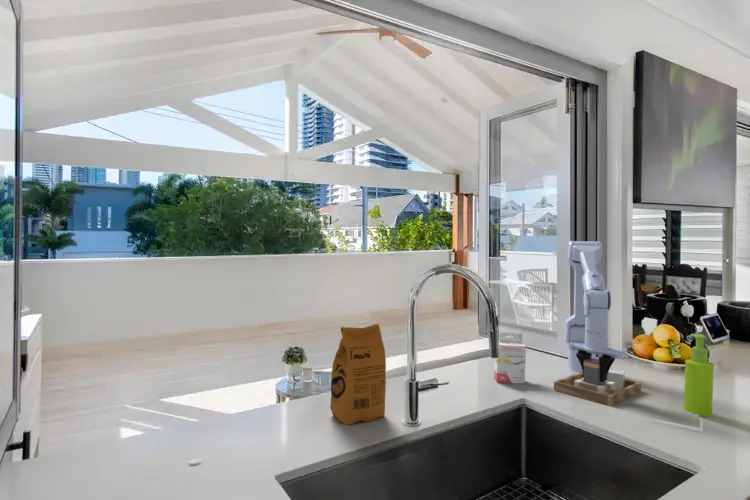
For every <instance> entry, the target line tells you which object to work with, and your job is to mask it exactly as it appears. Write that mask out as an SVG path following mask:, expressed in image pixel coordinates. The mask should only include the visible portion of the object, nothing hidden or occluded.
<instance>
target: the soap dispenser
mask: <svg viewBox="0 0 750 500" xmlns="http://www.w3.org/2000/svg"><path fill="white" fill-rule="evenodd" d="M690 336H691V337H695V346H693V347H691V355H690V356H691V358H689V359H685V361H684V363H685V366H684V367H685V368H684V395H683V397H684V398H683V400H684V401H683V409H684V411H686V412H689V413H692V414H696V415H698V416H699V417H700V418H711V417H712V416H713V395H714V392H713V391H714V363H713V362H710V361H709V360H708V359H709V358H708V356H709V355H708V353H709V350H708V348H706V347H705V340H707V336H706V335H704V334H703V333H690Z"/></svg>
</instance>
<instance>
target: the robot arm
mask: <svg viewBox="0 0 750 500" xmlns="http://www.w3.org/2000/svg"><path fill="white" fill-rule="evenodd" d="M602 257H603V245H602V242H601V241H600V240H597V241H588V240H587V241H584V240H583V241H581V240H579V241H578V240H576V241H575V240H569V242H568V244H567V264H568V265H569V266H571V267H572V269H573V272H574V276H573V277H574V282H573V284H574V285H573V289H574V290H573V314H572V315H571V316H570V317H568V318H566V319H565V321H564V328H563V340H564V341H565V343H566V344H568V349H567V351H568V353H567V354H568V355H567V356H568V357H567V358H568V359H567V367H563V368H562V369H563V370H564V371H565V370H566V371H569V372H574V373H580V372H583V375H584V360H586V359H588V358H594V359H597V356H599V357H598V359H599V363H600V382H605V381H606V378H607V374H608V371H609V369H611V367H612V366H613V363H614V362H615V360H623V359H624V357H625V352H624V351H622V350H617V349H613V348H611V347H608V322H609V321H608V317H609V312H608V311H610V309H611V305H612V296H611V291H610V289H608V288H607V287H606V286H605V285H606V284H605V279H604V276H603V274H602V273H601V272H599V271H598V264H599V262H600V261H601V259H602Z"/></svg>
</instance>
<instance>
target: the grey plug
mask: <svg viewBox="0 0 750 500" xmlns="http://www.w3.org/2000/svg"><path fill="white" fill-rule="evenodd" d="M625 373H626V372H625V371H624V370H618V369H612V368H610V369H609V371H608V374H607V381H610V382H615V391H619V390H621V389H623V388H624V379H625Z"/></svg>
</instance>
